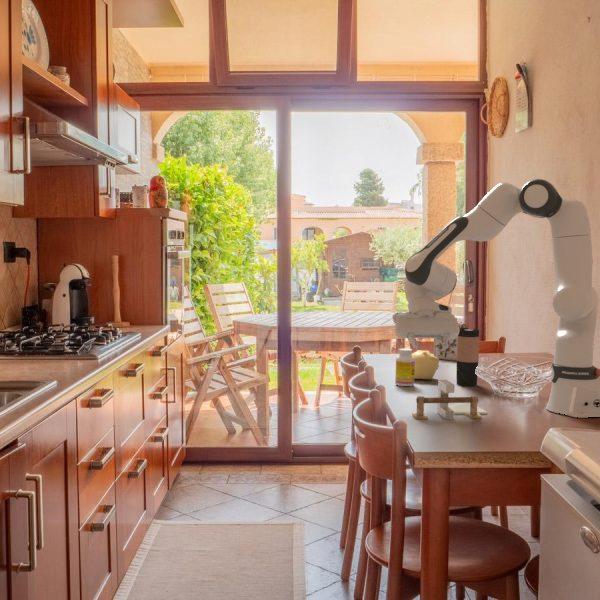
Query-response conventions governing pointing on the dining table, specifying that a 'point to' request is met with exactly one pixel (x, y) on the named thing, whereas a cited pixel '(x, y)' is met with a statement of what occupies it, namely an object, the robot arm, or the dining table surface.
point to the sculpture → (425, 364)
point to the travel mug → (467, 356)
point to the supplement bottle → (405, 368)
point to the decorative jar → (452, 347)
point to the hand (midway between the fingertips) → (430, 347)
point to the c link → (443, 391)
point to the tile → (464, 409)
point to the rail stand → (472, 400)
